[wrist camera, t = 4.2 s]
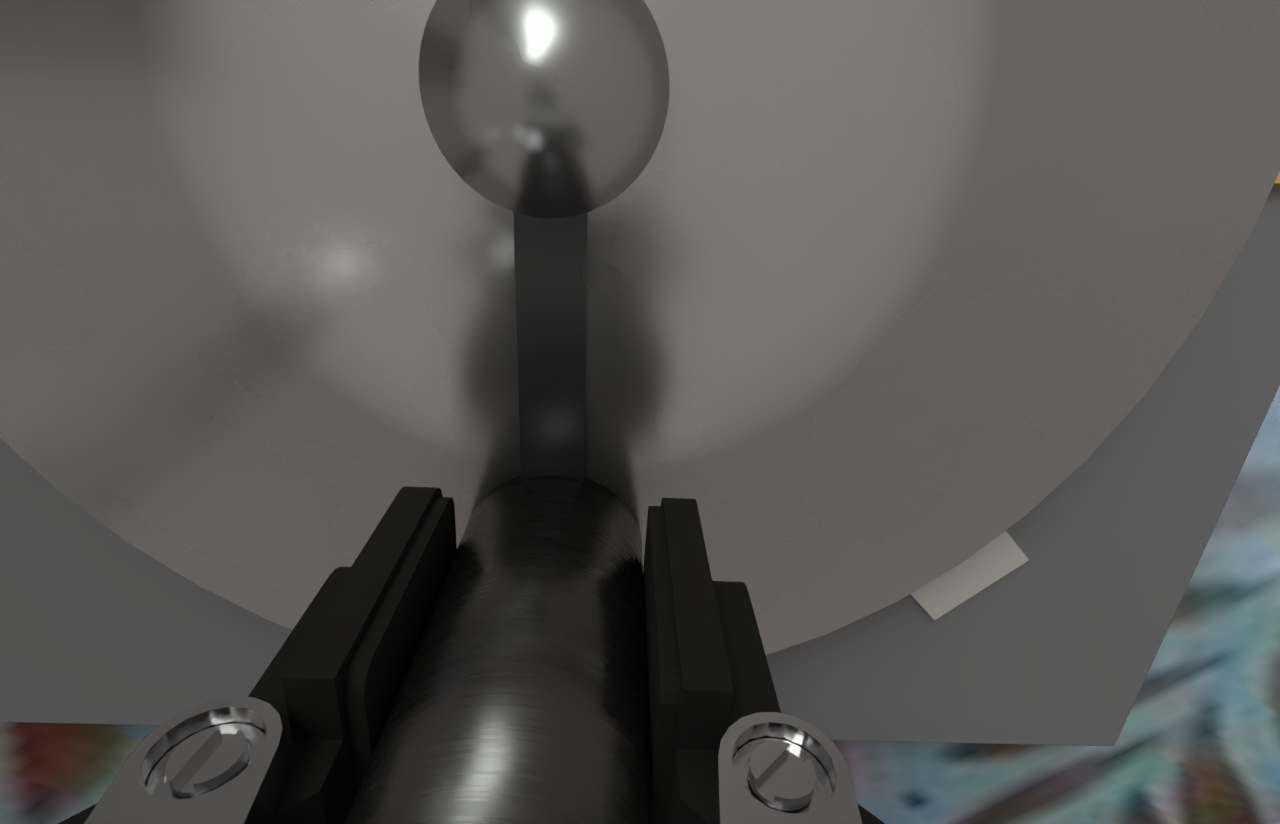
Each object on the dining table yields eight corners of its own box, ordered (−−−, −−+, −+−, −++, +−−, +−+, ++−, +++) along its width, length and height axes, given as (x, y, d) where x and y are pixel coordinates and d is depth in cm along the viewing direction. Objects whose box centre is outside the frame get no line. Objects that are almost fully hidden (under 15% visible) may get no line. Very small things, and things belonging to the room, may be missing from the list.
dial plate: (-918, -1642, 6) (-1505, -2318, 4) (1857, -1223, 7) (2236, -1641, 5) (18, 669, 16) (-48, 728, 14) (1073, 695, 17) (1119, 753, 15)
